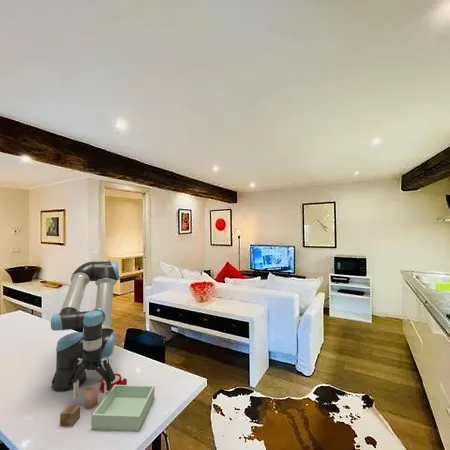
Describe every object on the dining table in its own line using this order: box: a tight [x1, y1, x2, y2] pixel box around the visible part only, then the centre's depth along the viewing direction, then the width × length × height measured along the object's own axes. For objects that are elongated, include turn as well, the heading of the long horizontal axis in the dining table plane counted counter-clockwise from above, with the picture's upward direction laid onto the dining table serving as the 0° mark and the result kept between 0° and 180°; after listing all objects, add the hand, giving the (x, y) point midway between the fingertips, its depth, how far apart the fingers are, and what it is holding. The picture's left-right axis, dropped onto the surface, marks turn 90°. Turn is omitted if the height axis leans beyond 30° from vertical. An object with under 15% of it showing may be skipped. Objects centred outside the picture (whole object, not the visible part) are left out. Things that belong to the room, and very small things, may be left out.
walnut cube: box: [59, 404, 81, 428], centre depth 104 cm, size 5×5×5 cm
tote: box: [90, 384, 156, 432], centre depth 109 cm, size 19×20×6 cm
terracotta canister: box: [84, 385, 99, 410], centre depth 114 cm, size 5×5×7 cm
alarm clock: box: [97, 373, 128, 393], centre depth 126 cm, size 10×6×15 cm
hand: (91, 397), depth 113 cm, fingers open, 13 cm apart
